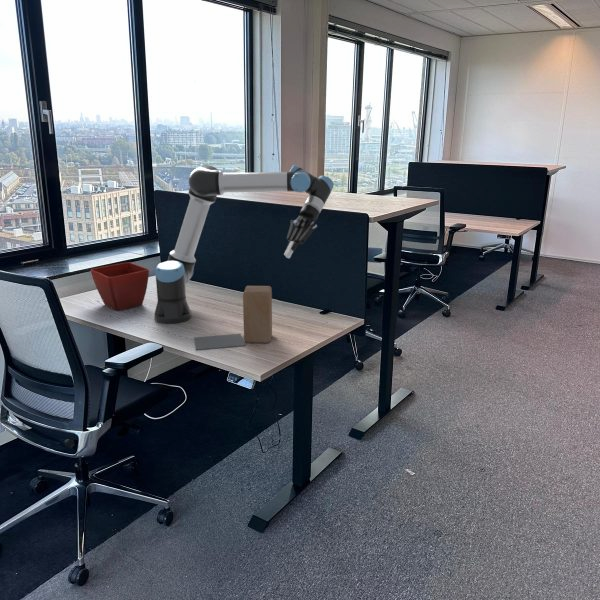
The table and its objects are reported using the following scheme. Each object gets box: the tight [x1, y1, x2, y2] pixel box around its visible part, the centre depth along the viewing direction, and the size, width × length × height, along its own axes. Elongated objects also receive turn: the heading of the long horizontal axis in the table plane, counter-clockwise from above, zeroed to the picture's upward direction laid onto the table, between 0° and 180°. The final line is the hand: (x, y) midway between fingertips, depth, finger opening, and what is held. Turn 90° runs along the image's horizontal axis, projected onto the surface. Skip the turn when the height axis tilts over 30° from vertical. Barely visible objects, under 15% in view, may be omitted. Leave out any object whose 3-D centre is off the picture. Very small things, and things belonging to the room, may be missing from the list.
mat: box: [193, 333, 246, 351], centre depth 201 cm, size 18×12×1 cm, turn 105°
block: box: [242, 285, 273, 344], centre depth 201 cm, size 10×10×20 cm
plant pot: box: [90, 261, 150, 311], centre depth 240 cm, size 19×19×17 cm
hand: (286, 256), depth 212 cm, fingers closed
